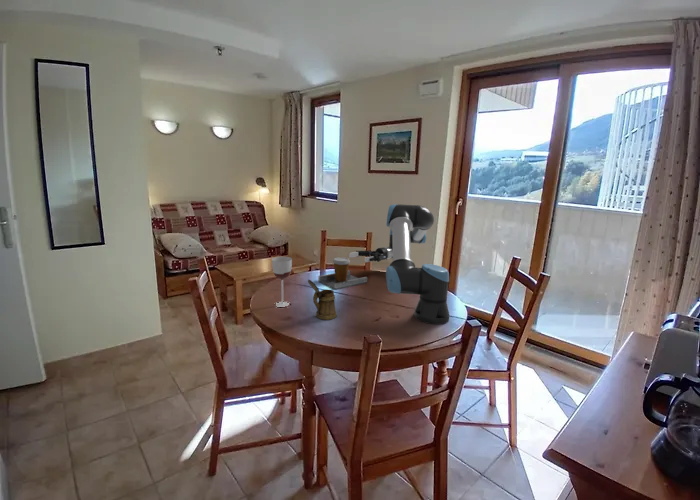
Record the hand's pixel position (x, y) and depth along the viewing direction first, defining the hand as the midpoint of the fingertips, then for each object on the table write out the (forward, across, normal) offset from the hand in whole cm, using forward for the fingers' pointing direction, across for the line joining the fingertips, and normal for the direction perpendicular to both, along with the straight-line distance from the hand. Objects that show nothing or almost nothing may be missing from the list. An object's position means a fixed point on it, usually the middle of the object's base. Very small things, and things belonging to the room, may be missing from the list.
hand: (356, 257), depth 208 cm
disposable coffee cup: (+9, +3, -12) cm, 16 cm away
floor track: (+10, 0, -13) cm, 16 cm away
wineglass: (+54, -11, -14) cm, 57 cm away
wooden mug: (+47, -33, -14) cm, 59 cm away
